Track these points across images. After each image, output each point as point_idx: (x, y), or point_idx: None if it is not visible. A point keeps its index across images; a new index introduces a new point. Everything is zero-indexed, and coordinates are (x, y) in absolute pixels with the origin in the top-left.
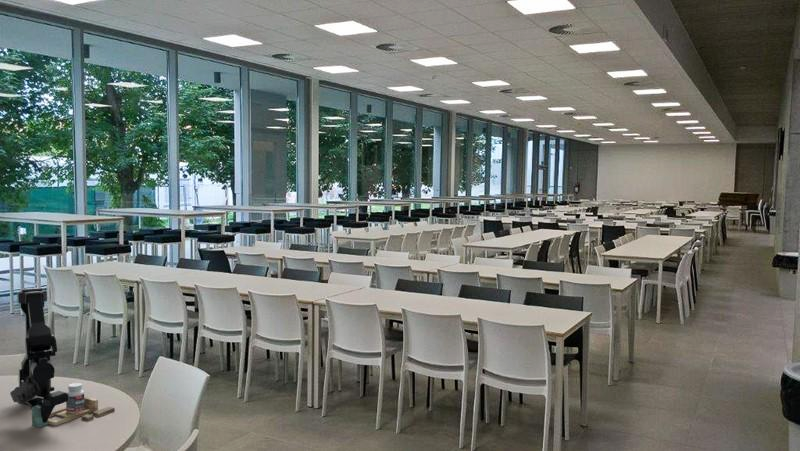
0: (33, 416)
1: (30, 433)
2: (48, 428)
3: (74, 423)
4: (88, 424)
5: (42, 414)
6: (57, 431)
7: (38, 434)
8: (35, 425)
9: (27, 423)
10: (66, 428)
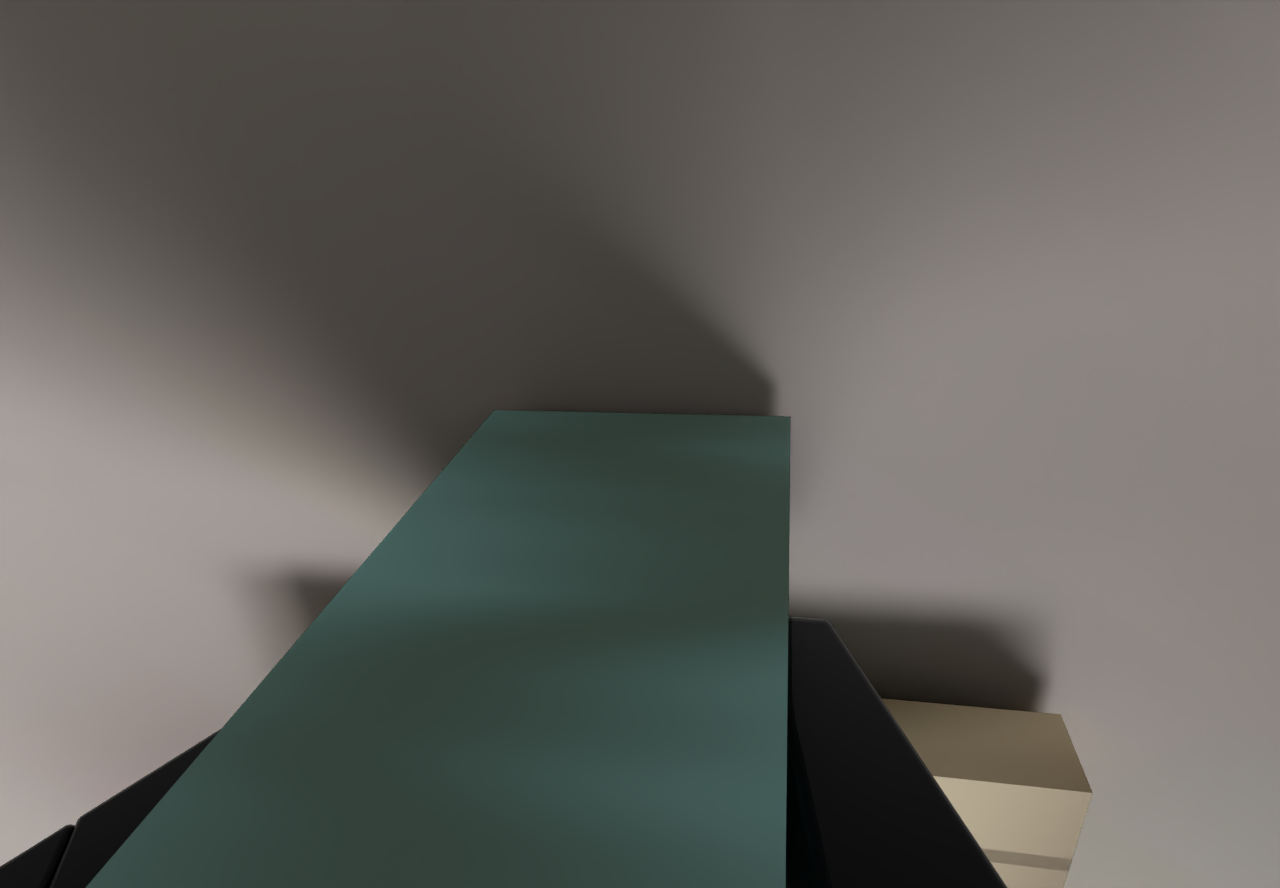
0: (663, 629)
1: (288, 32)
2: (314, 508)
3: None
4: None
5: None
6: (5, 480)
7: (59, 128)
8: (614, 432)
9: (1175, 501)
10: (72, 644)
